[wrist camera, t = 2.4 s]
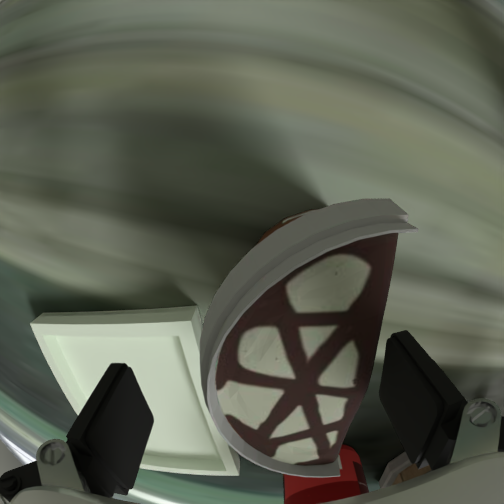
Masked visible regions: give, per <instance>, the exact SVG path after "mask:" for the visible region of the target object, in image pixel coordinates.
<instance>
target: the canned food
mask: <svg viewBox="0 0 504 504" xmlns="http://www.w3.org/2000/svg"><path fill="white" fill-rule="evenodd" d="M337 458H338V464H339V470H340V476H337V477H300V476H293V475H287V474H283V488H284V504H320V503H325V502H331V501H336V500H340V499H345V498H349V497H353V496H357V495H361V494H365V493H369V490H368V486H367V483H366V479H365V475H364V472H363V468H362V465H361V461H360V458H359V455H358V454H357V452H356V451H355V450H354V449H353V448H352V447H350V446H347V445H342V446H341V449H340V453H339V455H338V456H337Z"/></svg>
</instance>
